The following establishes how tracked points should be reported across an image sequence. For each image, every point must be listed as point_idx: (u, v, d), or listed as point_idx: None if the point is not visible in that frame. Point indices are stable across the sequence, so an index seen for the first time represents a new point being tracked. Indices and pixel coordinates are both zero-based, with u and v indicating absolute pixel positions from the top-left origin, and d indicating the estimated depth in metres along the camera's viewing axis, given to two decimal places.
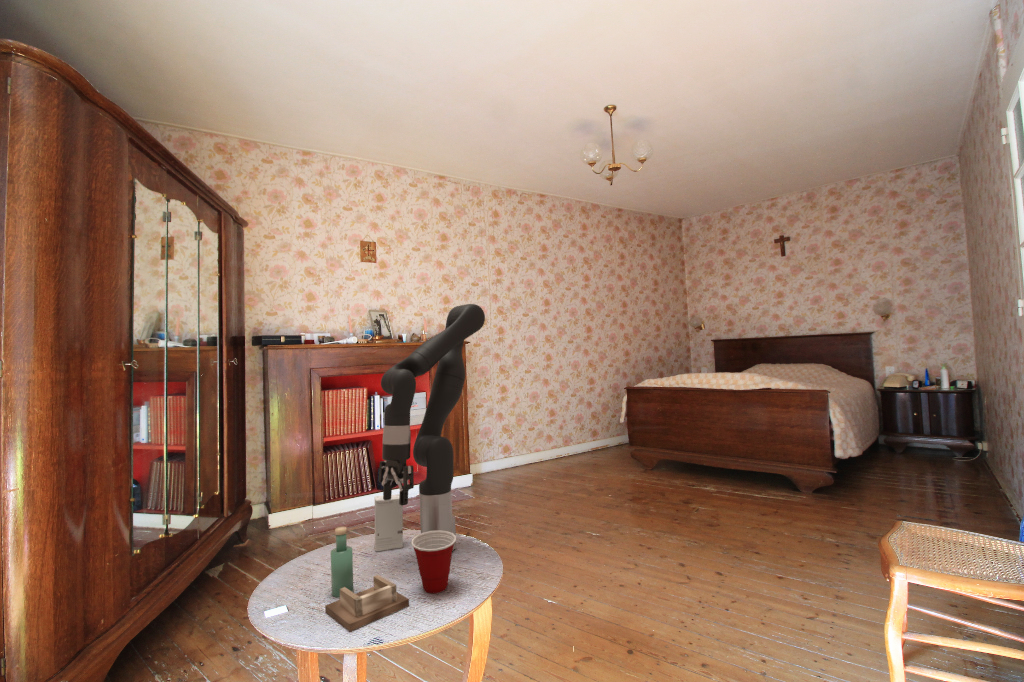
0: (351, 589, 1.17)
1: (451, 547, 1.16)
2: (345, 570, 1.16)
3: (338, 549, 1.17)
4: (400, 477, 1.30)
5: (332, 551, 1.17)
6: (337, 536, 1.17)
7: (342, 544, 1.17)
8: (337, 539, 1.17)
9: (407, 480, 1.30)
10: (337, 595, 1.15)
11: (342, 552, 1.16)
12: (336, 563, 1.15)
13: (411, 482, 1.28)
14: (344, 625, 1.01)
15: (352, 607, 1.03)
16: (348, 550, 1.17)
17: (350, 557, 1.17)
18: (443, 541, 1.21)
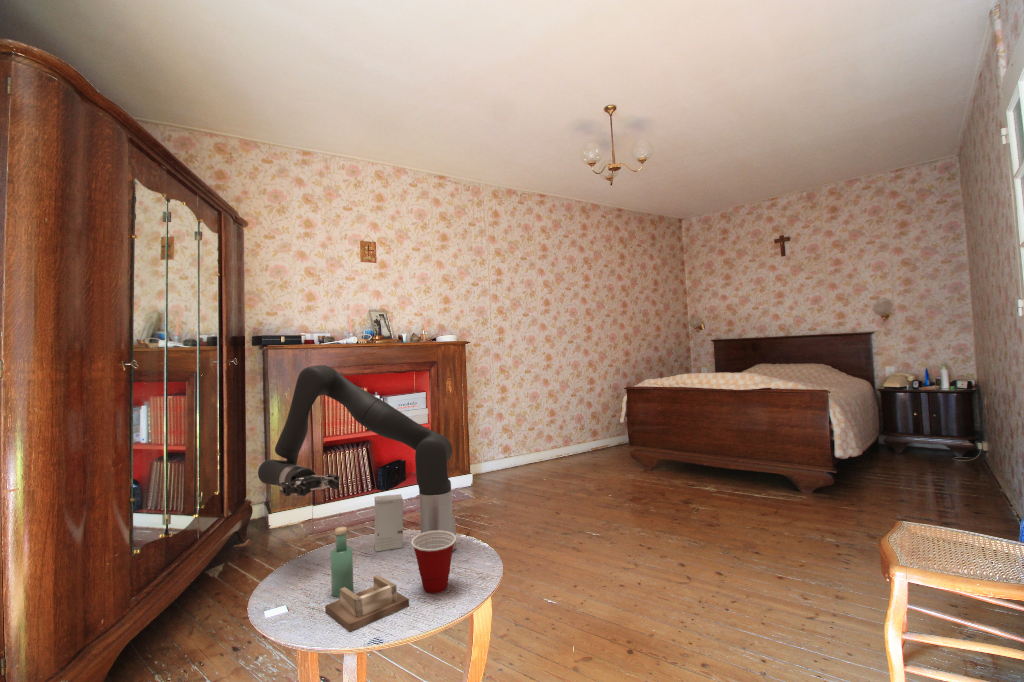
0: (351, 589, 1.17)
1: (451, 547, 1.16)
2: (345, 570, 1.16)
3: (338, 549, 1.17)
4: None
5: (332, 551, 1.17)
6: (337, 536, 1.17)
7: (342, 544, 1.17)
8: (337, 539, 1.17)
9: (295, 483, 1.28)
10: (337, 595, 1.15)
11: (342, 552, 1.16)
12: (336, 563, 1.15)
13: None
14: (344, 625, 1.01)
15: (352, 607, 1.03)
16: (348, 550, 1.17)
17: (350, 557, 1.17)
18: (443, 541, 1.21)
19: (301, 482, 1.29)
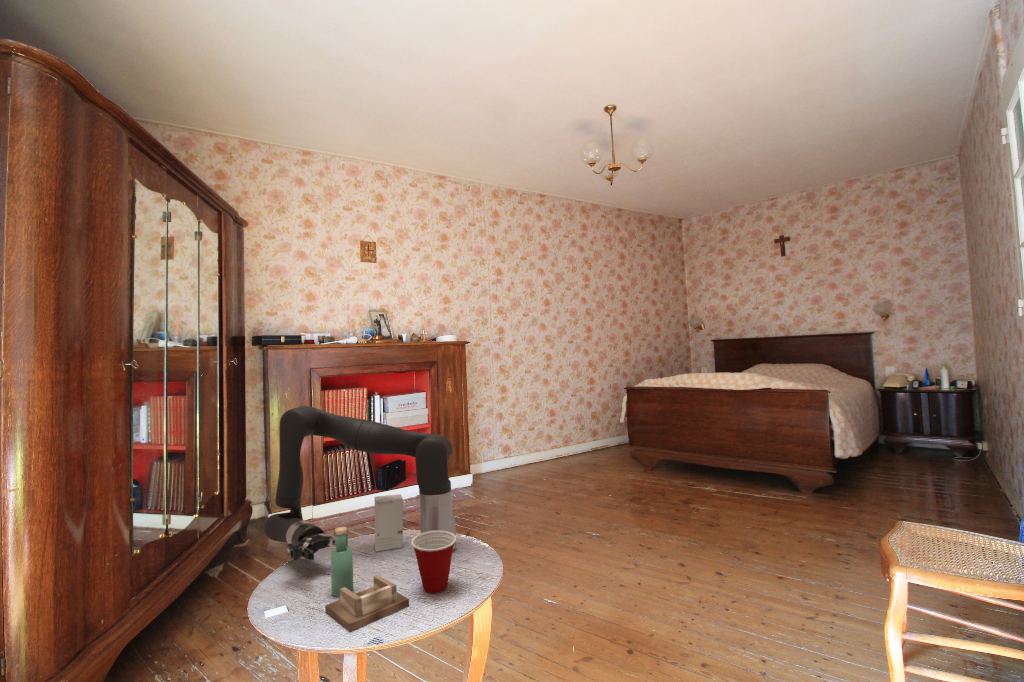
0: (351, 589, 1.17)
1: (451, 547, 1.16)
2: (345, 570, 1.16)
3: (338, 549, 1.17)
4: (308, 548, 1.26)
5: (332, 551, 1.17)
6: (337, 536, 1.17)
7: (342, 544, 1.17)
8: (337, 539, 1.17)
9: (303, 545, 1.24)
10: (337, 595, 1.15)
11: (342, 552, 1.16)
12: (336, 563, 1.15)
13: None
14: (344, 625, 1.01)
15: (352, 607, 1.03)
16: (348, 550, 1.17)
17: (350, 557, 1.17)
18: (443, 541, 1.21)
19: (309, 544, 1.25)
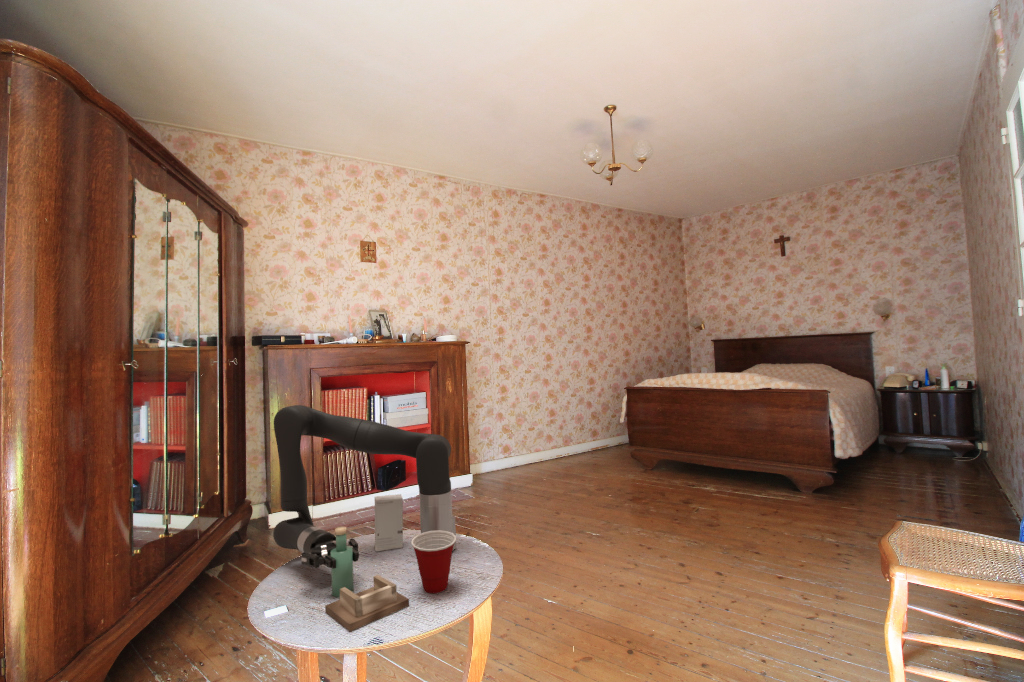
0: (351, 589, 1.17)
1: (451, 547, 1.16)
2: (345, 569, 1.16)
3: (338, 549, 1.17)
4: None
5: (332, 551, 1.17)
6: (337, 536, 1.17)
7: (342, 544, 1.17)
8: (337, 539, 1.17)
9: (321, 553, 1.18)
10: (337, 595, 1.15)
11: (342, 552, 1.16)
12: (336, 563, 1.15)
13: None
14: (344, 625, 1.01)
15: (352, 607, 1.03)
16: (348, 550, 1.17)
17: (350, 557, 1.17)
18: (443, 541, 1.21)
19: (326, 551, 1.20)
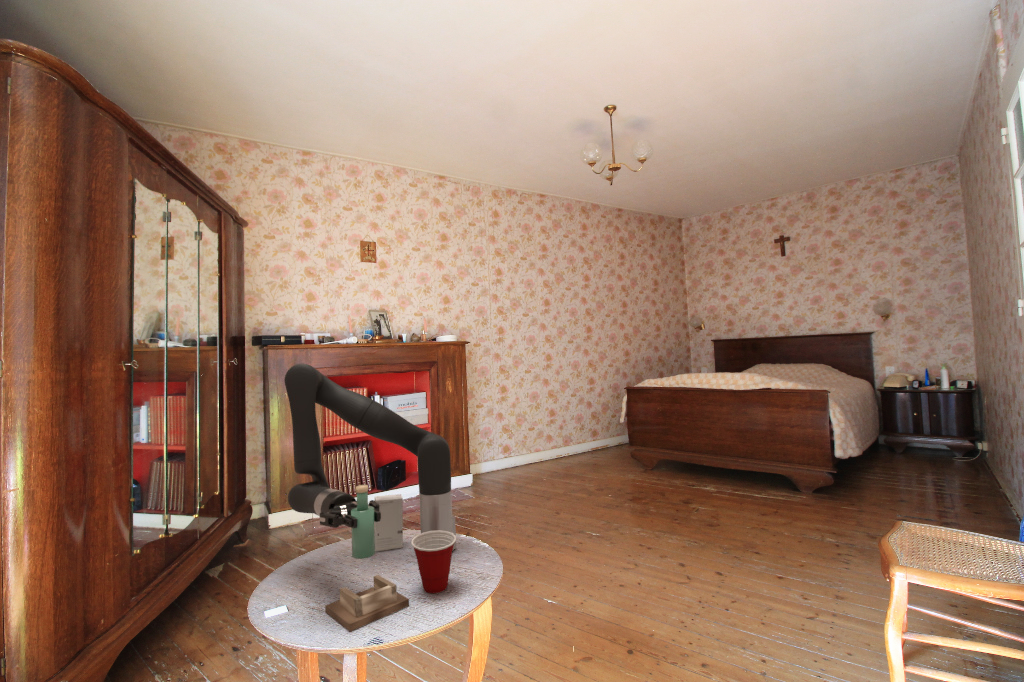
0: (373, 551, 1.08)
1: (451, 547, 1.16)
2: (367, 530, 1.07)
3: (359, 508, 1.08)
4: None
5: (352, 510, 1.09)
6: (358, 494, 1.09)
7: (363, 503, 1.09)
8: (358, 497, 1.09)
9: (341, 513, 1.10)
10: (358, 557, 1.07)
11: (363, 511, 1.08)
12: (357, 522, 1.07)
13: None
14: (344, 625, 1.01)
15: (352, 607, 1.03)
16: (370, 509, 1.09)
17: (372, 517, 1.09)
18: (443, 541, 1.21)
19: (346, 511, 1.12)
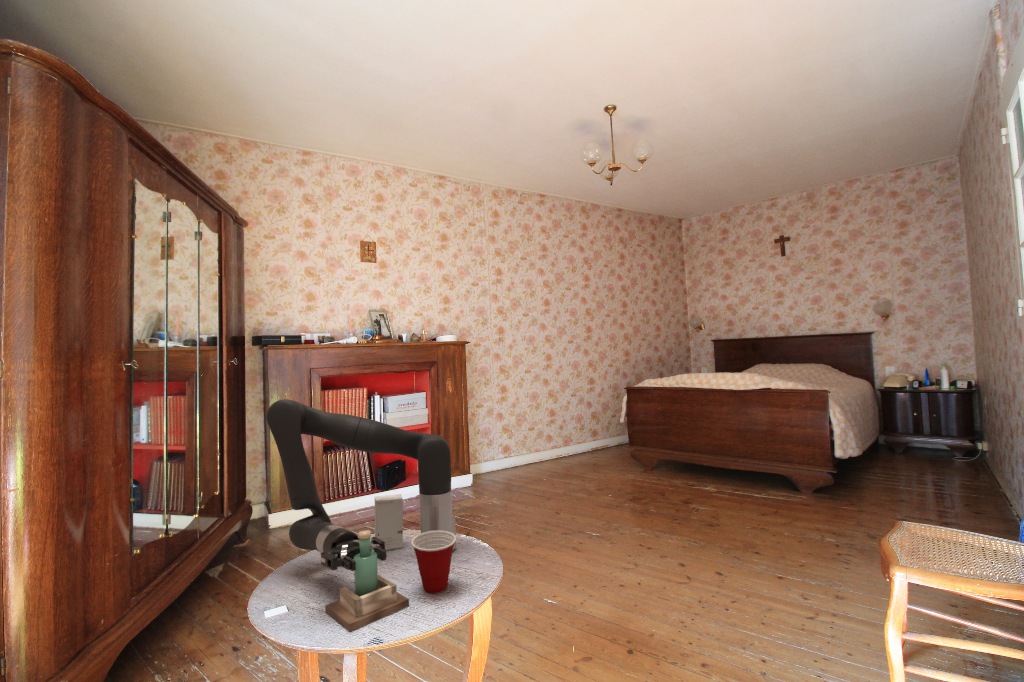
0: None
1: (451, 547, 1.16)
2: (370, 577, 1.07)
3: (362, 554, 1.08)
4: None
5: (355, 557, 1.08)
6: (361, 540, 1.08)
7: (366, 549, 1.08)
8: (361, 543, 1.08)
9: (341, 553, 1.09)
10: None
11: (366, 557, 1.08)
12: (360, 569, 1.07)
13: None
14: (344, 625, 1.01)
15: (352, 607, 1.03)
16: (372, 555, 1.09)
17: (375, 563, 1.08)
18: (443, 541, 1.21)
19: (346, 551, 1.10)
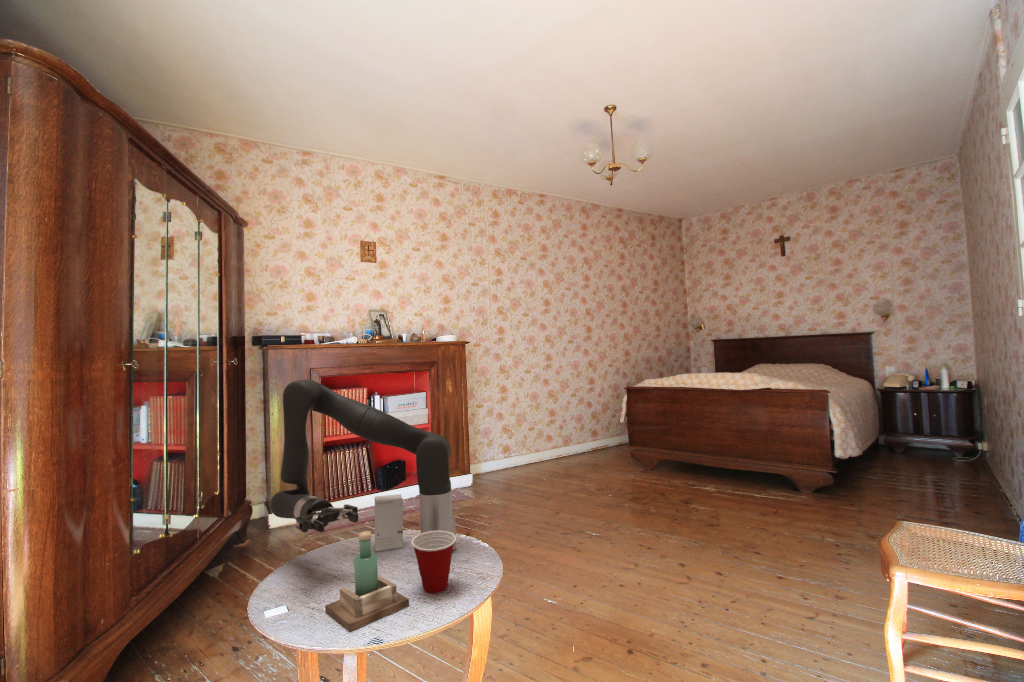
0: None
1: (451, 547, 1.16)
2: (370, 578, 1.07)
3: (362, 555, 1.08)
4: None
5: (355, 558, 1.08)
6: (361, 541, 1.08)
7: (366, 550, 1.08)
8: (361, 545, 1.08)
9: (312, 518, 1.20)
10: None
11: (367, 559, 1.07)
12: (360, 570, 1.06)
13: None
14: (344, 625, 1.01)
15: (352, 607, 1.03)
16: (373, 556, 1.08)
17: (375, 564, 1.08)
18: (443, 541, 1.21)
19: (318, 516, 1.21)
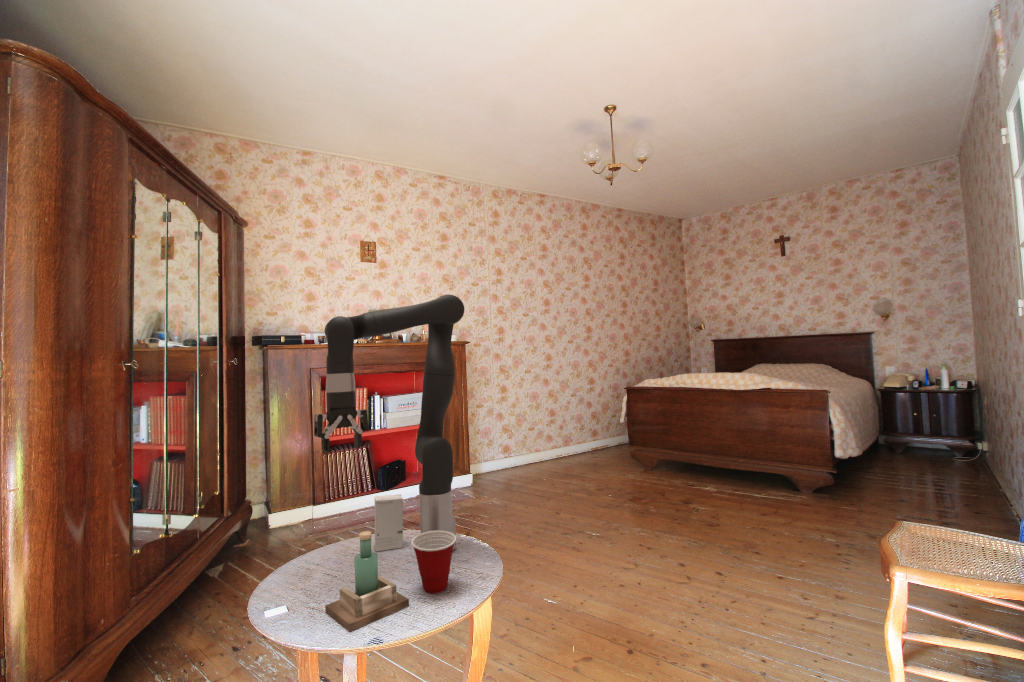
0: None
1: (451, 547, 1.16)
2: (370, 578, 1.07)
3: (362, 555, 1.08)
4: None
5: (356, 557, 1.08)
6: (361, 541, 1.08)
7: (367, 550, 1.08)
8: (361, 544, 1.08)
9: (328, 429, 1.27)
10: None
11: (367, 559, 1.07)
12: (360, 570, 1.06)
13: None
14: (344, 625, 1.01)
15: (352, 607, 1.03)
16: (373, 556, 1.08)
17: (375, 564, 1.08)
18: (443, 541, 1.21)
19: None
